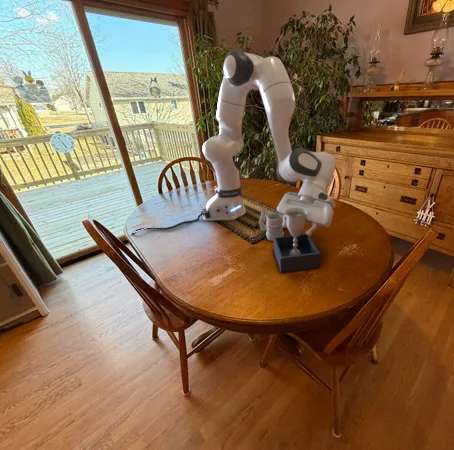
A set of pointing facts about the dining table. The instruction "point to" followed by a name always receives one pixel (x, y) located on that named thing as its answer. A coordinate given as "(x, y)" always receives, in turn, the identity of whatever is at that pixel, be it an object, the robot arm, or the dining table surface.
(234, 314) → the dining table surface
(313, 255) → the bin
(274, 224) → the mug
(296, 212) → the chalice
